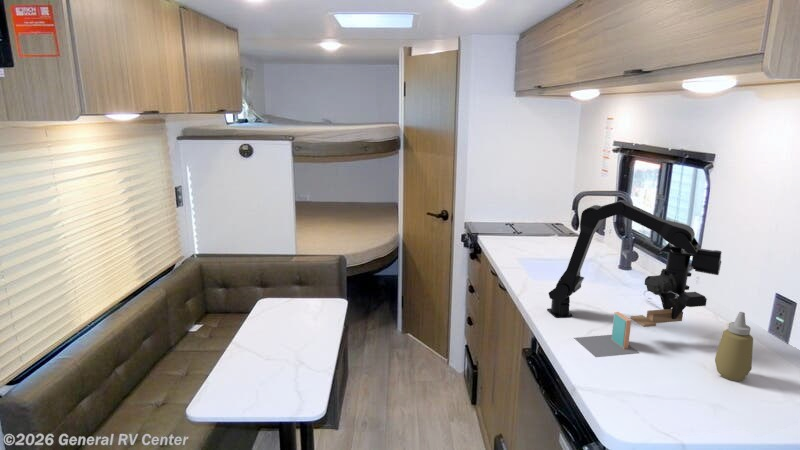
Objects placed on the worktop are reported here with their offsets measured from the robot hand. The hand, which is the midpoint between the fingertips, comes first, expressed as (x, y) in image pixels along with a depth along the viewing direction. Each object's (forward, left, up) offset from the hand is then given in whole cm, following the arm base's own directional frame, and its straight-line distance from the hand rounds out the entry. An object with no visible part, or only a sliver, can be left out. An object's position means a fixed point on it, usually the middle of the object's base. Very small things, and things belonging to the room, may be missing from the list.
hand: (670, 316), depth 141 cm
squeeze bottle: (+20, +3, -8) cm, 22 cm away
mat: (0, -20, -8) cm, 22 cm away
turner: (0, -4, -1) cm, 4 cm away
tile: (0, -16, -8) cm, 18 cm away
